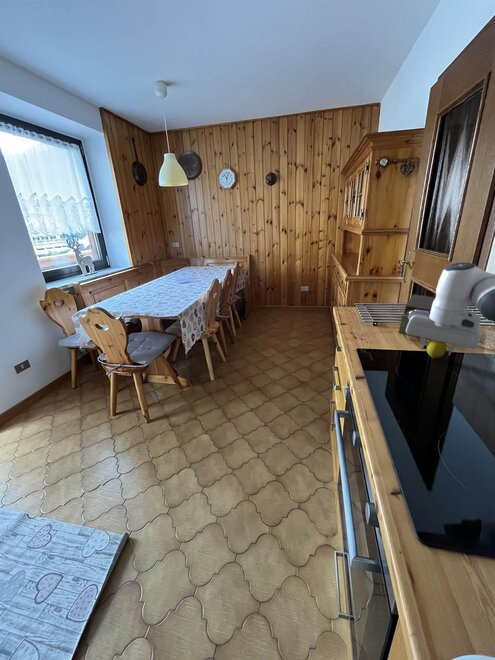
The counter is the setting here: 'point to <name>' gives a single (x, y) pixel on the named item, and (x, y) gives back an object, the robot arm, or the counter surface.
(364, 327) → the counter surface
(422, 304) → the cabinet
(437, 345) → the lemon
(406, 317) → the drawer
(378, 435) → the counter surface
